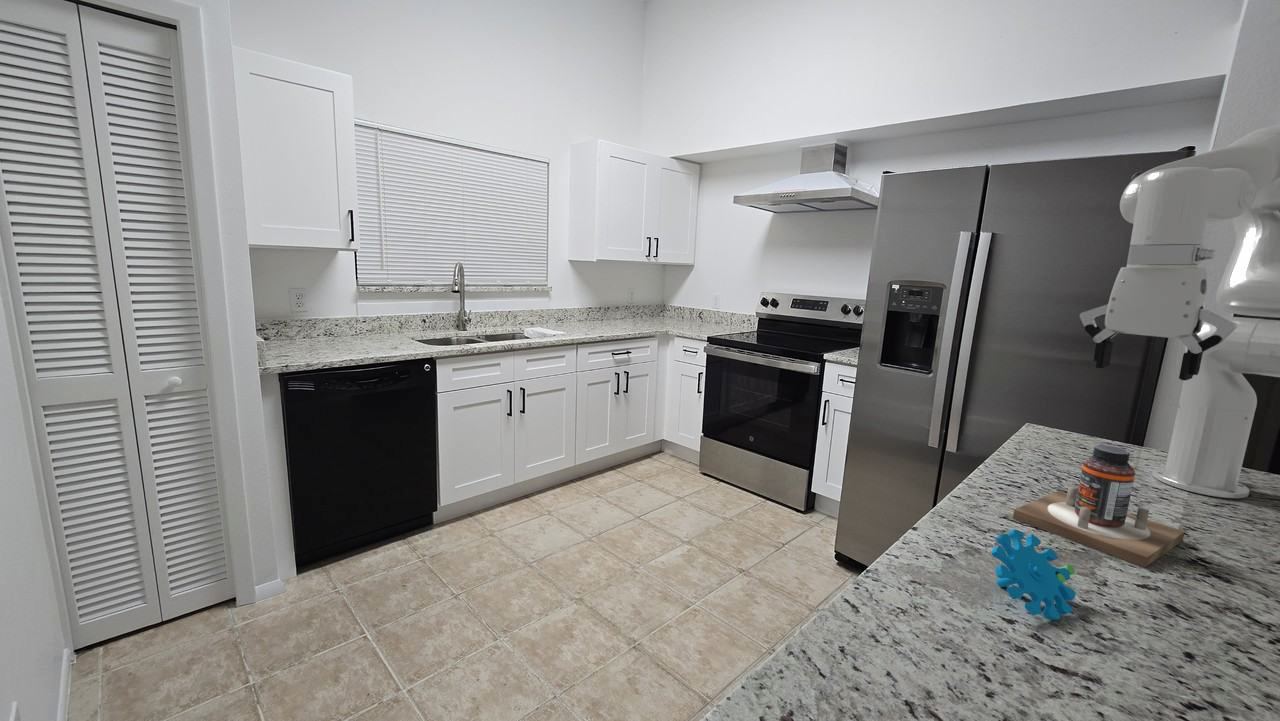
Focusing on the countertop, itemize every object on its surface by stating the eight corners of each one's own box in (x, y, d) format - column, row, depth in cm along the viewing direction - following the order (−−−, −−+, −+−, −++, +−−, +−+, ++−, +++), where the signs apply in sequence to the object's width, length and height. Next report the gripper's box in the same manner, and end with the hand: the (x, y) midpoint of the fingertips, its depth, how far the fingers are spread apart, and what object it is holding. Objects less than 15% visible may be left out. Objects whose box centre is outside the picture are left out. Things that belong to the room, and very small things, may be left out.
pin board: (1056, 499, 93) (1060, 474, 92) (1182, 540, 79) (1189, 512, 78) (1012, 518, 85) (1017, 491, 84) (1144, 567, 71) (1151, 536, 71)
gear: (1024, 617, 58) (987, 525, 64) (983, 626, 62) (951, 540, 68) (1103, 619, 60) (1061, 530, 66) (1058, 628, 65) (1021, 544, 71)
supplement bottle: (1063, 510, 84) (1075, 442, 82) (1098, 510, 85) (1111, 442, 83) (1098, 529, 78) (1111, 455, 77) (1136, 528, 79) (1150, 455, 77)
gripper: (1258, 257, 72) (1231, 380, 76) (1099, 257, 87) (1083, 360, 90) (1242, 258, 69) (1215, 388, 72) (1079, 258, 83) (1063, 366, 87)
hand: (1142, 372), depth 81 cm, fingers open, 9 cm apart
